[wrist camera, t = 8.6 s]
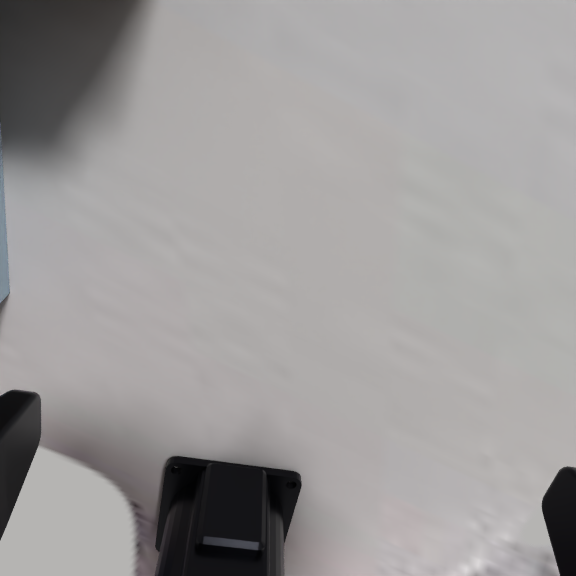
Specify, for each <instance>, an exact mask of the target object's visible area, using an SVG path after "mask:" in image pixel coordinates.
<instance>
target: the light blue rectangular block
mask: <svg viewBox="0 0 576 576" xmlns="http://www.w3.org/2000/svg"><path fill="white" fill-rule="evenodd" d="M9 293H10V289H9V271H8V253H7V234H6V216H5V197H4V179H3V161H2V142H1V124H0V303H1V302H2V301H3V299H4V298H5V297H6V296H7V295H8V294H9Z"/></svg>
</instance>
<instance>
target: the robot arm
mask: <svg viewBox="0 0 576 576" xmlns="http://www.w3.org/2000/svg"><path fill="white" fill-rule="evenodd" d="M40 437H41V399H40V396H39V394H37V393H36V392H30V391H23V390H10V391H8V392H6V393H5V394H3V395H1V396H0V540H1V537H2V535H3V533H4V530H5V528H6V526H7V523H8V521H9V518H10V516H11V513H12V511H13V508H14V506H15V503H16V501H17V498H18V496H19V493H20V491H21V488H22V485H23V483H24V480H25V478H26V476H27V473H28V470H29V468H30V465H31V463H32V460H33V458H34V455H35V453H36V450H37V448H38V445H39V441H40ZM175 467H180V468H175ZM289 481H293V482H289ZM300 489H301V476H300V474H298V473H297V472H294V471H288V470H280V469H272V468H264V467H257V466H249V465H241V464H233V463H226V462H218V461H210V460H202V459H195V458H187V457H179V456H176V457H172V458H170V459H169V460H168V462H167V465H166V470H165V477H164V485H163V492H162V500H161V507H160V515H159V522H158V530H157V537H156V545H155V547H156V549H157V551H159V552H160V553H159V557H158V562H157V567H156V572H155V576H284V542H285V539H286V536H287V532H288V529H289V526H290V523H291V519H292V516H293V513H294V509H295V506H296V503H297V499H298V496H299V493H300ZM542 512H543V515H544V519H545V522H546V526H547V530H548V534H549V537H550V541H551V544H552V548H553V551H554V555H555V559H556V562H557V566H558V569H559V573H560V576H576V468H575V467H563V468H562V469H560V470H559V472H558V473H557V475H556V477H555V478H554V480H553V482H552V483H551V485H550V487H549V488H548V490H547V492H546V493H545V495H544V497H543V500H542Z"/></svg>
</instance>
